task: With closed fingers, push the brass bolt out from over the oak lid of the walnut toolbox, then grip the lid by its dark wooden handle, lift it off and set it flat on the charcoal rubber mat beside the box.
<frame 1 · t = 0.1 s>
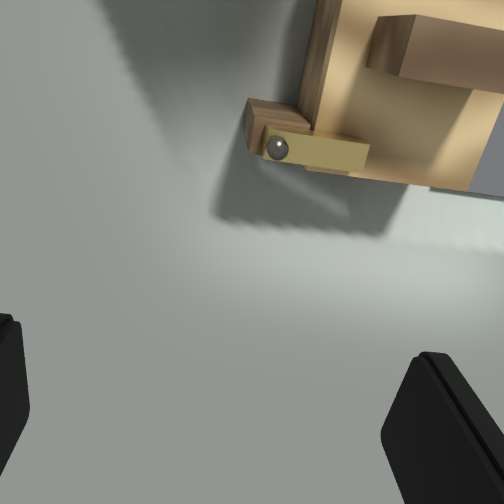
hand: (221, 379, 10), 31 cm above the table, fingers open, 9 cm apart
lid: (419, 51, 29), point 7 cm above the table, touching toolbox
toolbox: (385, 47, 36), on the table
bolt: (315, 150, 29), point 10 cm above the table, slide at 0.0 cm
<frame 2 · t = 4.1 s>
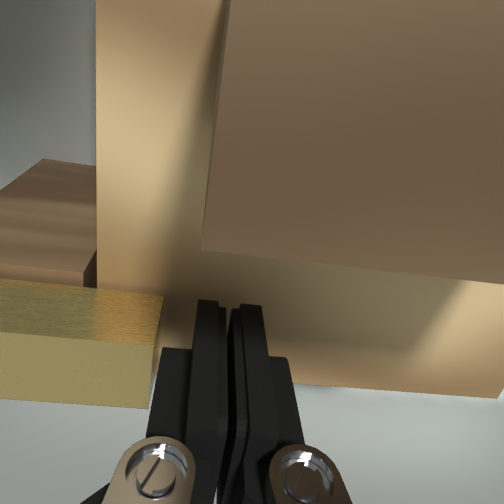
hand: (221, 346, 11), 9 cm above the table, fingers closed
lid: (380, 76, 11), point 7 cm above the table, touching toolbox
toolbox: (321, 60, 17), on the table
bolt: (1, 350, 10), point 10 cm above the table, slide at 1.7 cm, touching gripper
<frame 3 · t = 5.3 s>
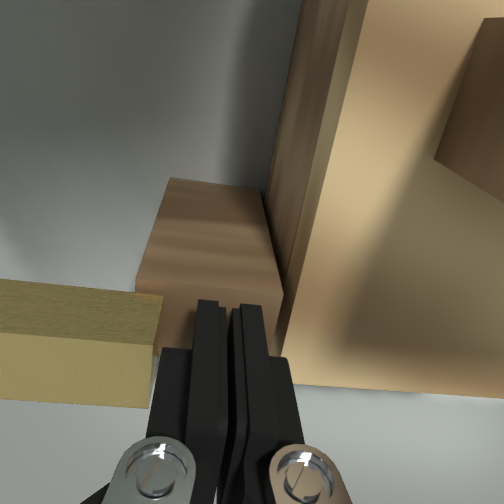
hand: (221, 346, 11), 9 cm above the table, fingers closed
toolbox: (444, 82, 17), on the table
bolt: (1, 351, 10), point 10 cm above the table, slide at 7.0 cm, touching gripper
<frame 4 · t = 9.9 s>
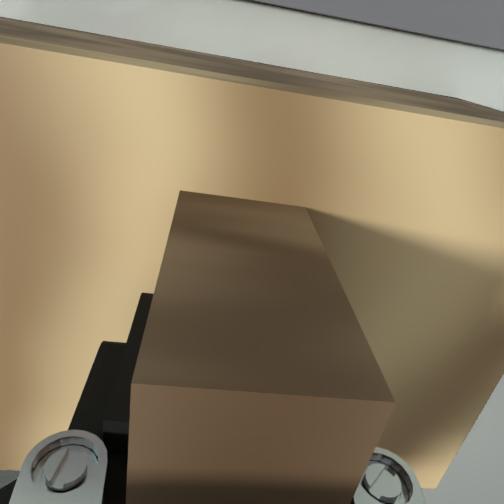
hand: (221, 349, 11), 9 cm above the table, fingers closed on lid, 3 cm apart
lid: (221, 301, 13), point 7 cm above the table, touching gripper, toolbox
toolbox: (221, 213, 19), on the table
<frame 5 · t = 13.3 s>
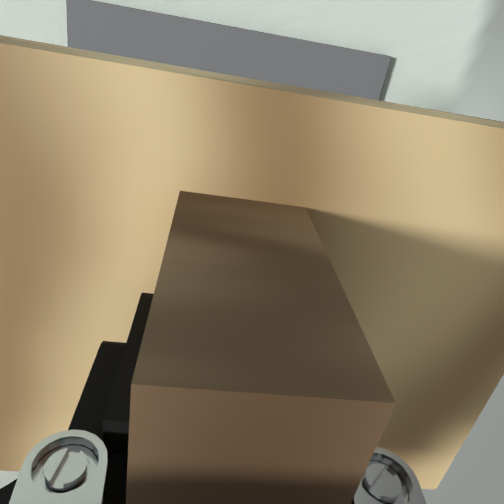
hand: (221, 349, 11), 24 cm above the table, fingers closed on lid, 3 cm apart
mat: (222, 137, 32), on the table
lid: (221, 301, 13), point 22 cm above the table, touching gripper
when the fingers open (5 cm above the table, at t = 17.1 s): lid drops 2 cm, resting on mat.
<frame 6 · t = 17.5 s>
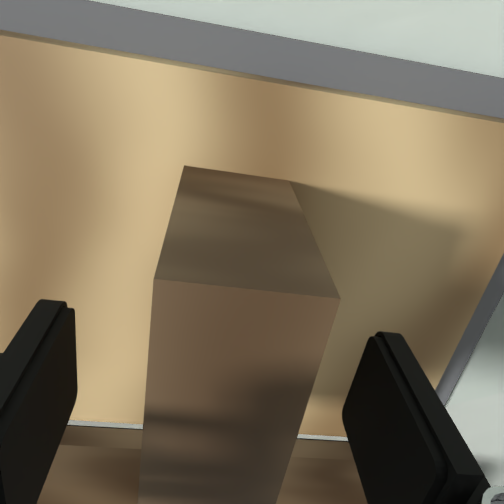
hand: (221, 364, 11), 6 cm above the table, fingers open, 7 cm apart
mat: (221, 257, 16), on the table
lid: (219, 267, 15), point 1 cm above the table, touching mat
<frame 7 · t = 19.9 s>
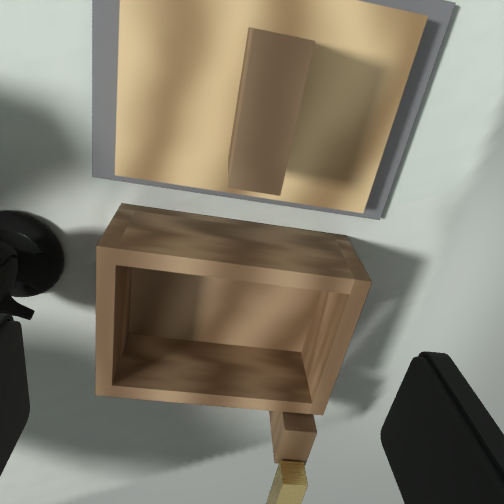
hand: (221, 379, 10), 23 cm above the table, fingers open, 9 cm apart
mat: (260, 94, 29), on the table
lid: (259, 97, 28), point 1 cm above the table, touching mat
toolbox: (225, 288, 36), on the table
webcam: (18, 250, 34), on the table
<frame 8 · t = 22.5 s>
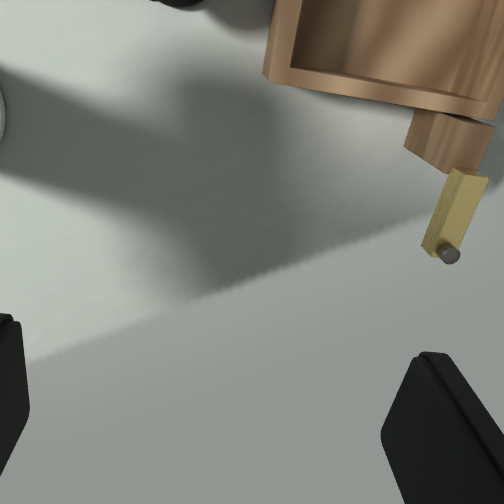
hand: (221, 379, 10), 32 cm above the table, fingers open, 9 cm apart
toolbox: (381, 8, 35), on the table
bolt: (455, 216, 33), point 10 cm above the table, slide at 7.2 cm
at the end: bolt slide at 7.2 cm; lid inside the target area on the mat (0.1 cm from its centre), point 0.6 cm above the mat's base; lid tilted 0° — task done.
